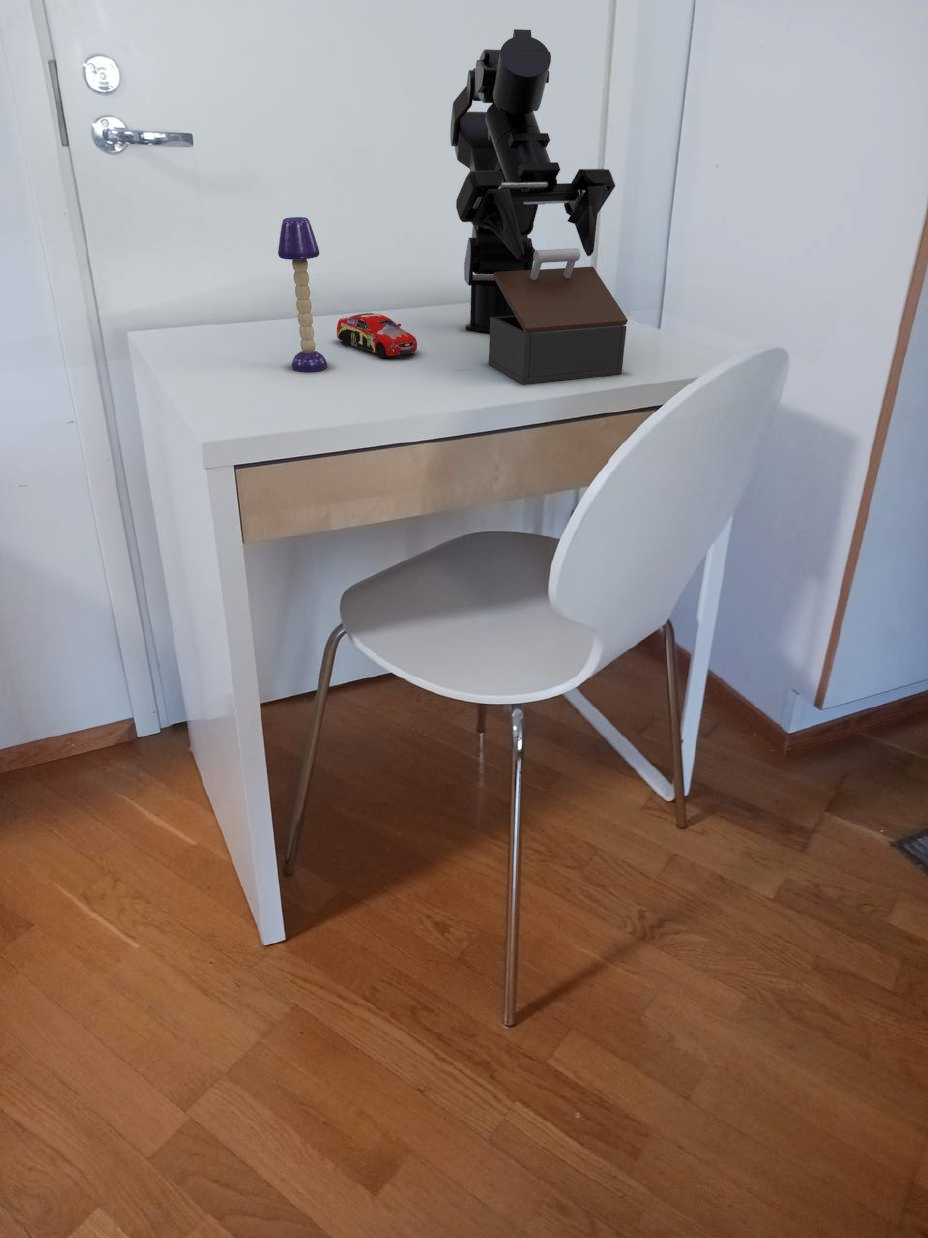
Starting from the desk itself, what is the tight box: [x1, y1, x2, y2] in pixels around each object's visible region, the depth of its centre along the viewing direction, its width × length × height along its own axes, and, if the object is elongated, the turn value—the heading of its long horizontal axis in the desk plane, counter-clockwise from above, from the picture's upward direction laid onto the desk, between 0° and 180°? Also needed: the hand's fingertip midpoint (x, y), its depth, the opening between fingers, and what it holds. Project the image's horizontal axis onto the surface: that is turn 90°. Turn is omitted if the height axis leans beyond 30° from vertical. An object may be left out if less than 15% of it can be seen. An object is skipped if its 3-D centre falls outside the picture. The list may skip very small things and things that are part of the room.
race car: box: [336, 312, 418, 359], centre depth 122 cm, size 13×5×4 cm, turn 39°
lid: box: [493, 247, 629, 333], centre depth 110 cm, size 10×13×4 cm
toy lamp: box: [277, 216, 328, 373], centre depth 110 cm, size 5×5×17 cm
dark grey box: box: [488, 315, 627, 385], centre depth 115 cm, size 9×13×6 cm
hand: (556, 255), depth 111 cm, fingers open, 9 cm apart
